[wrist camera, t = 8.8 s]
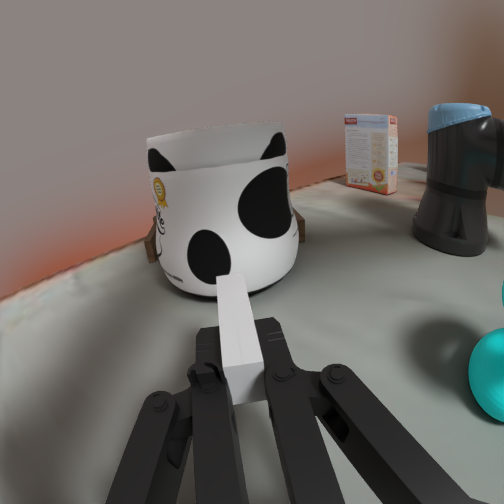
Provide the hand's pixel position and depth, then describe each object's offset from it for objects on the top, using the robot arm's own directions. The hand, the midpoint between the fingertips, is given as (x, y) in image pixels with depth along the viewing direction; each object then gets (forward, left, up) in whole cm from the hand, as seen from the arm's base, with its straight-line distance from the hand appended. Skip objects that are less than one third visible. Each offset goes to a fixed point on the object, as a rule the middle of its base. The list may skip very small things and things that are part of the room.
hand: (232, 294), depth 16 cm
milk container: (0, -18, -9) cm, 20 cm away
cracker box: (-41, -52, -9) cm, 67 cm away
